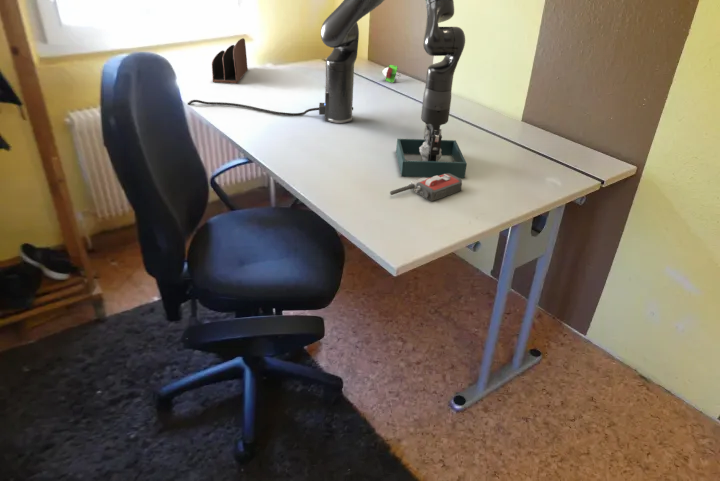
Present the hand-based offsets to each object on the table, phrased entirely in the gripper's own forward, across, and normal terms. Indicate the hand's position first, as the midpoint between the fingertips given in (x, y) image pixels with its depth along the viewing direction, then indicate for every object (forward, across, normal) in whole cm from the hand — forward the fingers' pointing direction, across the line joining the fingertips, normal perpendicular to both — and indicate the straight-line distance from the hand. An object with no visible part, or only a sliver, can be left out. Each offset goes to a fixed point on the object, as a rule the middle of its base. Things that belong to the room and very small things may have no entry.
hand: (429, 160), depth 158 cm
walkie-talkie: (+1, +18, -3) cm, 18 cm away
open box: (+1, 0, 0) cm, 1 cm away
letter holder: (+1, -82, -70) cm, 108 cm away
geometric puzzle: (+1, -83, -4) cm, 83 cm away
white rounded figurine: (+1, 0, 0) cm, 2 cm away
